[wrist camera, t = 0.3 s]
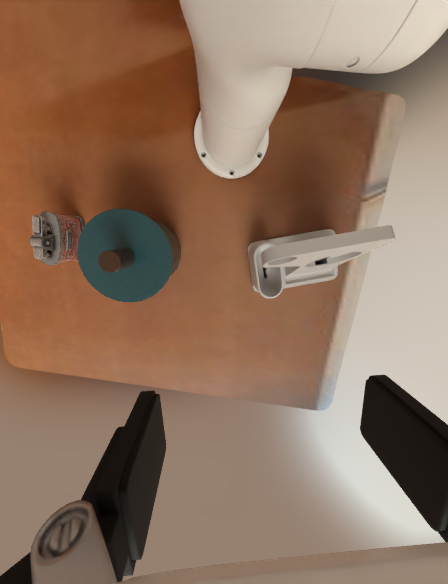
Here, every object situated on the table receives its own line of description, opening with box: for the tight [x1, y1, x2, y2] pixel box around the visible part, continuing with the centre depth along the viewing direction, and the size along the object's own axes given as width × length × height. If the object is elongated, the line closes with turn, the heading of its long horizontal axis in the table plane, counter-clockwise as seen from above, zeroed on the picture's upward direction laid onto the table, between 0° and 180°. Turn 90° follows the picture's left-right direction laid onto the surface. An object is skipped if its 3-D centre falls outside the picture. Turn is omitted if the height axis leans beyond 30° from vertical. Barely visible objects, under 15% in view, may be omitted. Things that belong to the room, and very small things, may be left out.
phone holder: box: [248, 226, 395, 298], centre depth 36 cm, size 17×10×18 cm, turn 100°
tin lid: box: [77, 209, 173, 302], centre depth 29 cm, size 13×13×6 cm
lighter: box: [30, 212, 85, 265], centre depth 37 cm, size 8×3×10 cm, turn 171°
